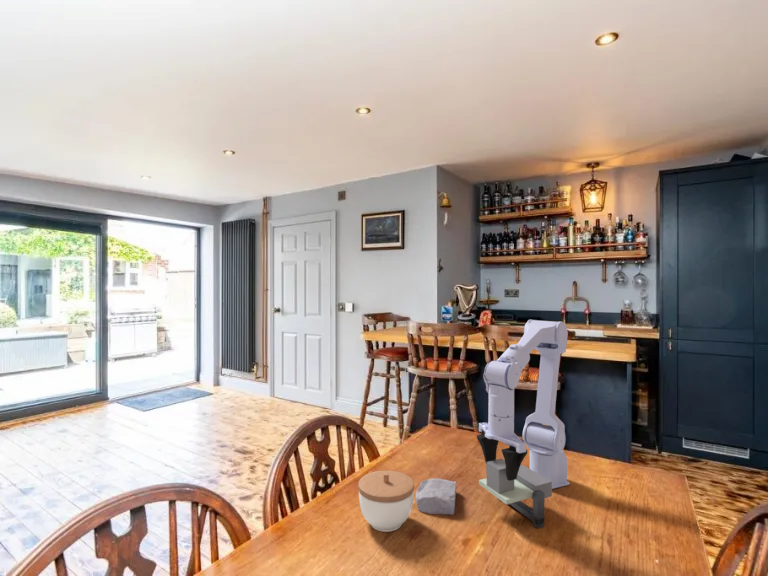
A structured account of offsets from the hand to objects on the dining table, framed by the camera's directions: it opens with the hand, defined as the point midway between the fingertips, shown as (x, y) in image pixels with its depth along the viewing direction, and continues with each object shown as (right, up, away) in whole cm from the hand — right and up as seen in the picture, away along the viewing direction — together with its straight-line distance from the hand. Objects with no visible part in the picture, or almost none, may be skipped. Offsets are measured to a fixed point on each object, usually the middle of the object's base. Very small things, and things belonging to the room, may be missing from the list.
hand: (500, 472), depth 96 cm
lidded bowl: (-27, -11, -2) cm, 29 cm away
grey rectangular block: (0, -4, 0) cm, 4 cm away
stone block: (-14, -11, +7) cm, 19 cm away
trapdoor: (+4, -6, +2) cm, 7 cm away
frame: (+5, -10, +2) cm, 12 cm away
